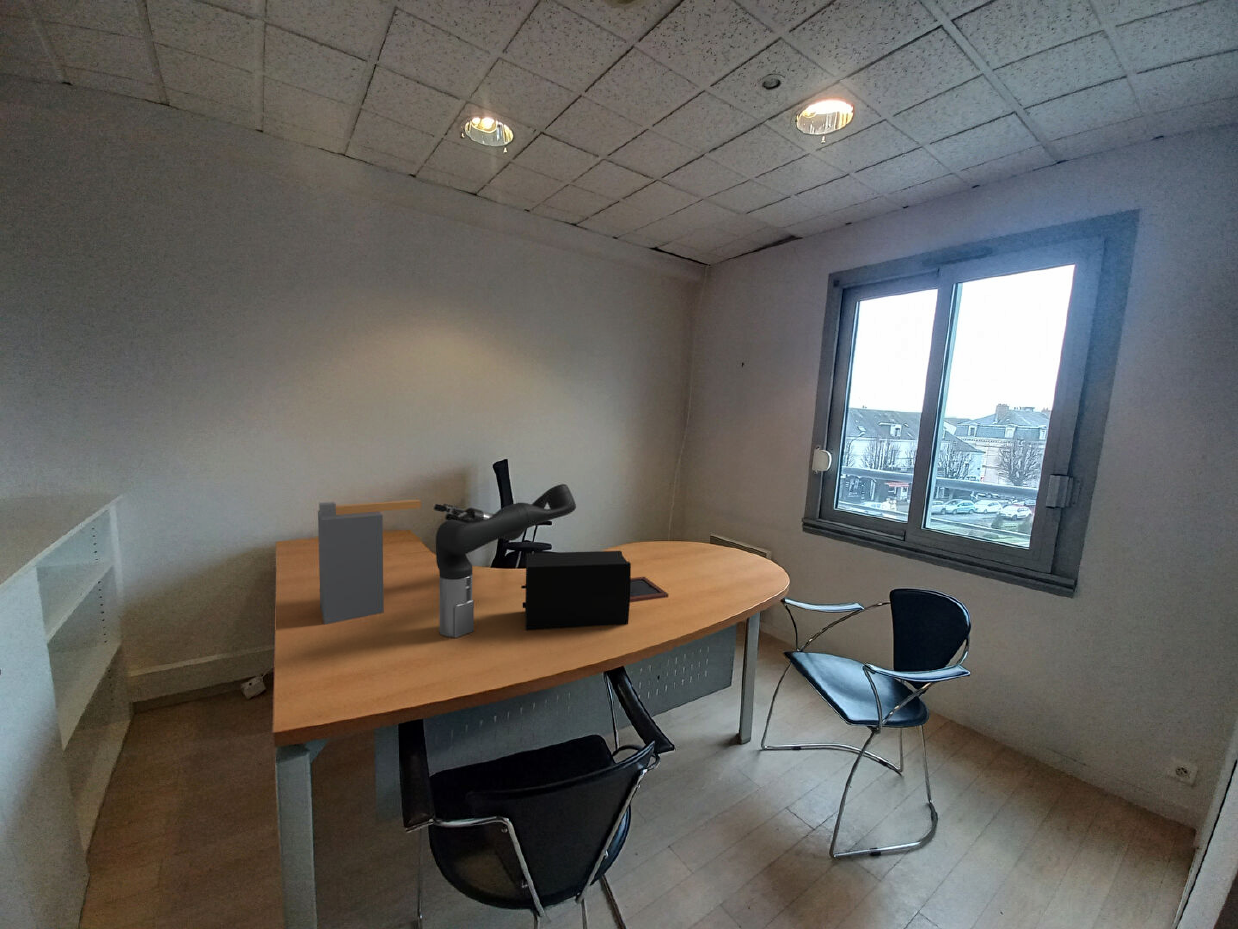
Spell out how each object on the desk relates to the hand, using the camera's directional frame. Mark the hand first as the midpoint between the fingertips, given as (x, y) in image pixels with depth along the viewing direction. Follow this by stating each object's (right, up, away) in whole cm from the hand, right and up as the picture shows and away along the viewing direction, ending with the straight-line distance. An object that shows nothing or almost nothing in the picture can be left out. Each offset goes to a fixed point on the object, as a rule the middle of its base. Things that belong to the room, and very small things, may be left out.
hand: (440, 511), depth 157 cm
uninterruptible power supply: (+47, -34, -10) cm, 59 cm away
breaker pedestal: (-25, -31, -10) cm, 41 cm away
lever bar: (-19, +1, -9) cm, 21 cm away
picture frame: (+65, -33, +15) cm, 75 cm away
